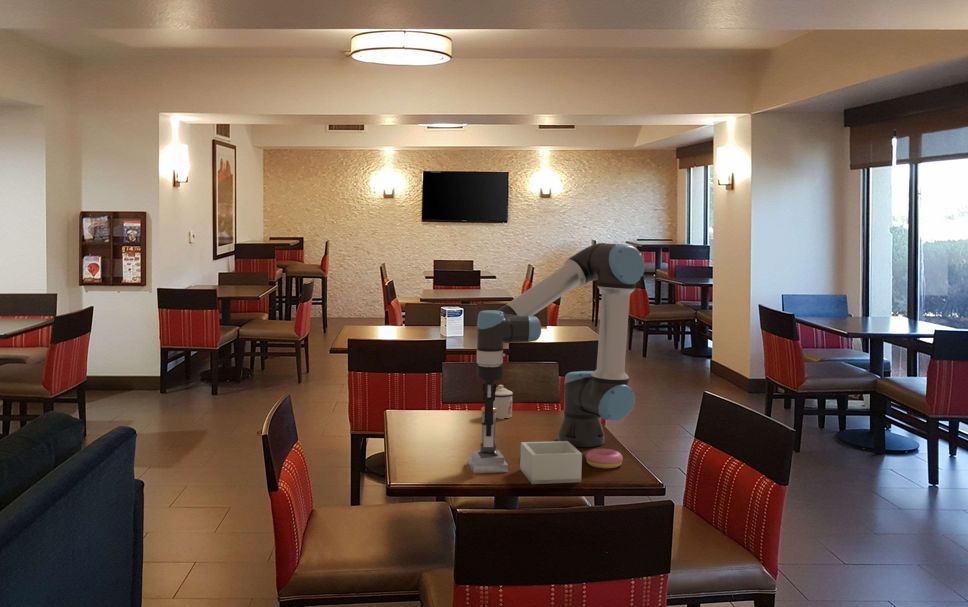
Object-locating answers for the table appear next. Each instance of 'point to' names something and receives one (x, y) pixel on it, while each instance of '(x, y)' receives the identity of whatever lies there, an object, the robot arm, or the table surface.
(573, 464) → the bin
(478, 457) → the grey square socket base
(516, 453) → the table surface
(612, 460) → the doughnut
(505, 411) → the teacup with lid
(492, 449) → the gold topped grey cylinder
